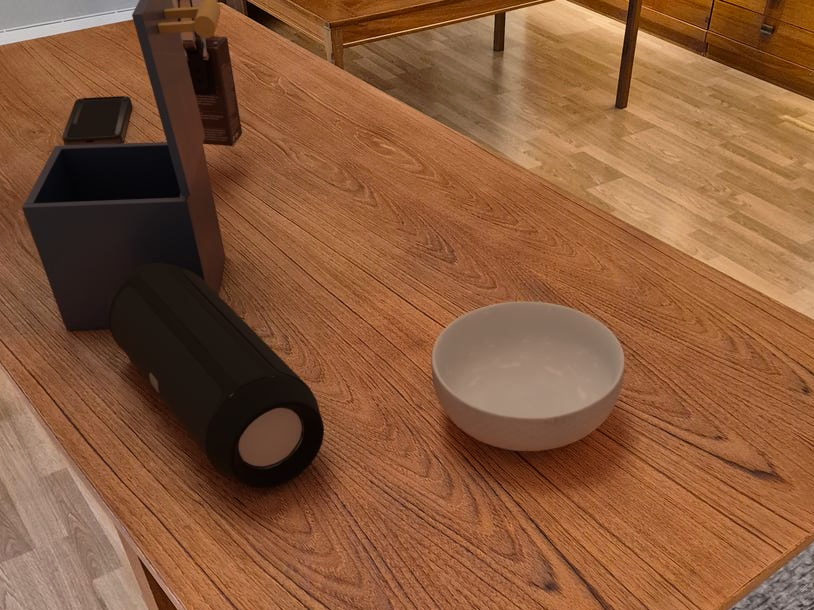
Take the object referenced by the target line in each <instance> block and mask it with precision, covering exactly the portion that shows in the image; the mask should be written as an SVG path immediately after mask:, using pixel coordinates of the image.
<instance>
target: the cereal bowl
mask: <svg viewBox="0 0 814 610" xmlns="http://www.w3.org/2000/svg"><path fill="white" fill-rule="evenodd" d="M430 363H431V366H430V368H431V377H432V384H433V387H434V388H433V389H434V393H435V394H436V397H437V399H438V402H439V404H440V406H441V407H442V410H443V411H444V413H445V415H446V416H447V417H449V419H450V420H451V422H452V423H454V424H455V425H456V427H457V428H459V429H461V431H462V432H464V433H466V434H467V435H469V436H470V437H472V438H474V439H475V440H477V441H478V442H482V443H483V444H485V445H489V446H492V447H493V448H494V447H495V448H499V449H503V450H508V451H514V452H516V451H517V452H541V451H548V450H554V449H558V448H561V447H565V446H568V445H570V444H573V443H576V442H577V441H580V440H582V439H583V438H585V437H587V436H589V435H590V434H591V433H592V432H594V431H595V430H597V428H599V427H600V426H601V425H602V424H603V423H604V421H606V420H607V418H608V417H609V416H610V415H611V413H612V411H613V410H614V408H615V406H616V404H617V403H618V401H619V397H620V395H621V391H622V389H623V382H624V379H625V378H624V376H625V368H626V367H625V366H626V359H625V353H624V349H623V347H622V345H621V343H620V341H619V339H618V337H617V336H616V335H615V334H614V333H613V331H612V330H611V329H610V328H608V326H606V325H605V324H604V323H602V322H601V321H600V320H598V319H596V318H595V317H593V316H591V315H588V314H587V313H584V312H582V311H580V310H577V309H575V308H573V307H572V308H571V307H568V306H564V305H561V304H555V303H550V302H542V301H507V302H499V303H494V304H490V305H489V304H488V305H486V306H482V307H479V308H476V309H473V310H470V311H468V312H466V313H464V314H462V315H460V316H459V317H457V318H455V319H454V320H453V321H451V322H450V323H449V324H447V325H446V326H445V327H444V329H443V330H442V331H441V332H440V333H439V335H437V338H436V340H435V342H434V344H433V347H432V351H431V357H430Z"/></svg>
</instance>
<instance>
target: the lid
mask: <svg viewBox="0 0 814 610" xmlns="http://www.w3.org/2000/svg"><path fill="white" fill-rule="evenodd" d="M220 15H221V7H220V5H219V3H218V2H217V1H216V0H215V1H214V0H203V1H202V2H201V3H200V6H199V7H185V8H174V6H173V2H172V0H139V1H138V2H137V4H136V6H135V8H134V10H133V12H132V14H131V17H132V20H133V24H134V28H135V31H136V32H135V33H136V35H137V39H138V43H139V45H140V49H141V53H142V57H143V60H144V64H145V67H146V72H147V75H148V79H149V83H150V87H151V90H152V93H153V97H154V100H155V105H156V108H157V112H158V115H159V118H160V122H161V127H162V129H163V133H164V137H165V142H167V144H168V148H169V152H170V155H171V159H172V163H173V166H174V170H175V173H176V177H177V181H178V184H179V188H180V192H181V195H182V196H190V195H191V191H192V187H193V183H194V179H195V175H196V171H197V167H198V163H199V158H200V154H201V150H202V146H203V147H204V144H203V142H204V138H205V133H204V129H203V125H202V121H201V117H200V113H199V108H198V104H197V100H196V96H195V92H194V88H193V84H192V80H191V76H190V71H189V67H188V63H187V59H186V55H185V51H184V47H183V43H182V39H181V35H180V32H194V31H195V32H196V33H197V34H198V35H199V36H200V37H202V38H210V37H212V36H213V35H214V36H215V34H216V29H217V26H218V22H219V19H220ZM194 17H195V20H194V21H181V22H177V19H179V18H194Z"/></svg>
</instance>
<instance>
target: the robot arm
mask: <svg viewBox="0 0 814 610" xmlns="http://www.w3.org/2000/svg"><path fill="white" fill-rule="evenodd" d="M202 1H203V0H172V2H173V6H174V8H185V7H199V6H200V3H201V2H202ZM214 1H216V0H214ZM194 20H195V17H194V18H179V19H177V22H181V21H194ZM180 35H181V39H182V43H183V47H184V51H185V55H186V59H187V63H188V67H189V71H190V76H191V80H192V84H193V88H194V92H195V95H214V94H216V91H217V89H216V83H215V77H214V70H213V64H212V58H209V55H208V47H207V39H206V38H202V37H200V36H199V35H198V34H197V33H196V32H195V31H194V32H180ZM213 36H215V34H214V35H213ZM196 37H200V38H201V43H200V42H199V40H196ZM201 46H202V47H201Z"/></svg>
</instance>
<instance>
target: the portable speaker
mask: <svg viewBox="0 0 814 610" xmlns="http://www.w3.org/2000/svg"><path fill="white" fill-rule="evenodd" d="M108 317H109V327H110V328H109V332H110V335H111V336H112V339H113V340H114V342H115V343H116V345H117V346H118V347H119V348H120V349H121V350H122V351H123V352H124V354H125V355H126V357H128V359H129V360H130V361H131V363H132V364H133V365H134V366H135V368H136V369H137V371H138V372H139V373H140V374H141V375H142V377H143V378H144V379H145V380H146V382H147V383H148V384H149V386H150V387H151V388H152V390H153V391H154V392H155V393H156V394H157V396H158V397H159V398H160V400H161V401H162V403H163V404H164V405H165V406H166V407H167V409H168V410H169V412H171V414H172V415H173V417H174V418H175V419H176V420H177V422H178V423H179V424H180V425H181V426H182V428H183V429H184V430H185V431H186V433H187V434H188V435H189V437H190V439H192V440H193V442H194V443H195V445H196V446H197V447H198V448H199V450H200V451H201V452H202V454H204V456H205V458H207V460H208V461H209V464H210V465H211V466H212V467H213V469H214V470H215V471H216V472H217V473H219V474H220V475H221V476H224V477H225V478H227V479H229V480H232V481H233V482H236V483H239V484H241V485H243V486H246V487H249V488H253V489H260V490H263V489H264V490H265V489H273V488H276V487H280V486H282V485H285V484H287V483H289V482H290V481H293V480H294V479H295V478H297V477H298V476H300V475H301V474H303V473H304V472H305V471H306V470H307V468H309V467H310V466H311V464H312V463H313V461H314V460H315V459H316V458H317V456H318V454H319V452H320V450H321V447H322V444H323V442H324V441H323V440H324V435H325V427H324V426H325V425H324V422H323V418H322V414H321V411H320V407H319V404H318V400H317V398H316V396H315V394H314V393H313V391H312V390H311V388H310V386H309V385H308V384H306V382H305V381H303V379H302V378H301V377H299V375H298V374H297V373H296V372H295V371H294V370H293V369H292V368H291V367H290V366H289V364H288V363H286V362H285V361H284V360H283V359H282V358H281V357H280V356H279V355H278V354H277V353H276V352H275V351H274V350H273V349H272V348H271V347H270V346H269V345H268V344H267V343H266V341H264V339H262V338H261V337H260V335H258V333H256V332H255V330H254V329H252V327H250V326H249V324H248V323H246V321H244V320H243V319H242V317H241V316H240V315H239V314H238V313H237V312H236V311H235V310H234V309H233V308H232V307H230V305H229V304H228V303H227V302H225V300H224V299H223V298H221V296H220V294H219V295H218V294H217V293H216V292H215V291H214V290H213V289H212V288H211V287H210V286H209V285H208V284H207V283H206V282H205V281H204V280H203V279H202V278H200V277H199V276H198V275H196V274H195V273H193V272H192V271H190V270H188V269H185V268H182V267H179V266H175V265H170V264H164V263H148V264H144V265H141V266H138V267H136V268H134V269H132V270H130V271H129V272H127V273H126V274H125V275H124V276H122V277H121V278H120V279H119V281H118V282H117V283H116V285H115V286H114V288H113V290H112V292H111V295H110V299H109V315H108Z"/></svg>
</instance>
